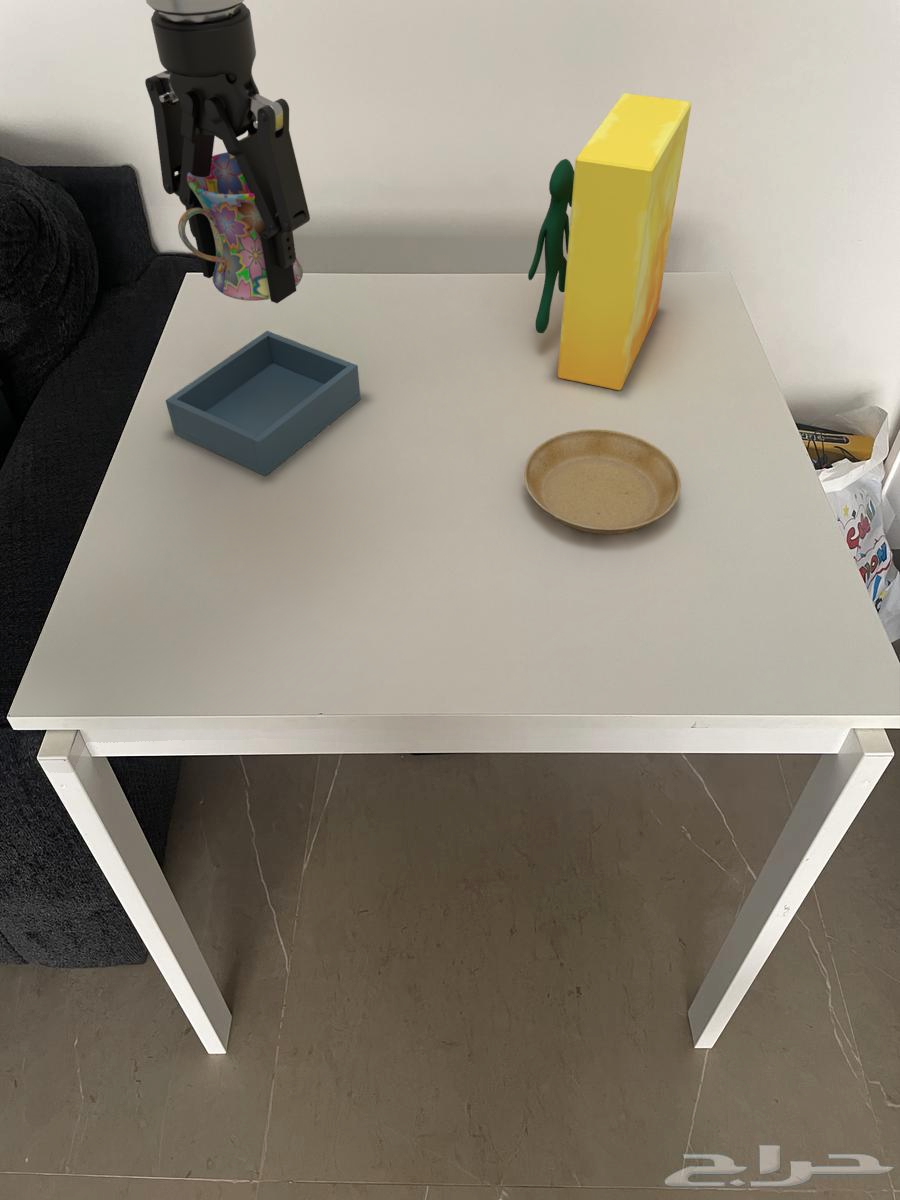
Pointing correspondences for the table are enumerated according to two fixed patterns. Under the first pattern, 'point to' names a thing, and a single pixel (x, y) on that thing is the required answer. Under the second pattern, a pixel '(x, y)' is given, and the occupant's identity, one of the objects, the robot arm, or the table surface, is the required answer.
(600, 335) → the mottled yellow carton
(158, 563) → the table surface
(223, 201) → the mug
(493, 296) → the table surface
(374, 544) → the table surface
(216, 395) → the tub
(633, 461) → the plant saucer
